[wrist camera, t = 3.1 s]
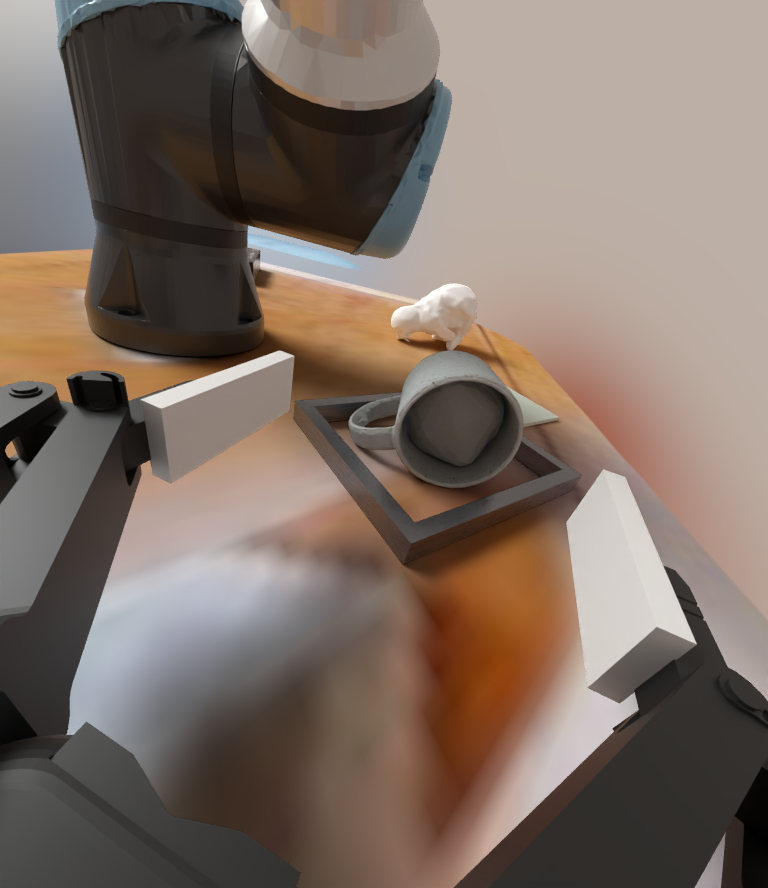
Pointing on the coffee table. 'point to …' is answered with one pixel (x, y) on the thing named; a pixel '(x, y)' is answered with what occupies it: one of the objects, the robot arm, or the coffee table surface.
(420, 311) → the white figurine
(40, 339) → the coffee table surface
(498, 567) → the coffee table surface
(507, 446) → the ceramic mug
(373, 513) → the square frame
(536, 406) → the grey-green mat
